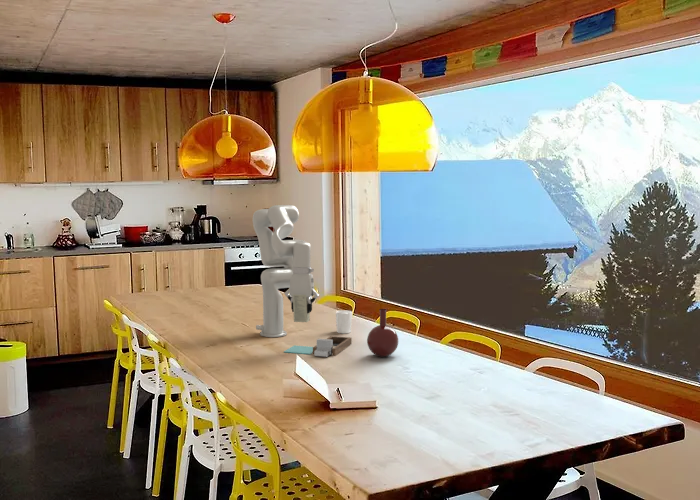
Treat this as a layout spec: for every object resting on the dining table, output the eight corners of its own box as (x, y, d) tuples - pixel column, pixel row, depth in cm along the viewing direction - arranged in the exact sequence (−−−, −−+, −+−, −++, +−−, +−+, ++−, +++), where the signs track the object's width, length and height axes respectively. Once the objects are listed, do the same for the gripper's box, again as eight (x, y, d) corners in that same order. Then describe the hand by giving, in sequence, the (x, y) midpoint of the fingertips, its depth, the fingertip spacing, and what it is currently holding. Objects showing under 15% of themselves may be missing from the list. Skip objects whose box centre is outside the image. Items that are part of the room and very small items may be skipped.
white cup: (350, 334, 359) (350, 313, 358) (334, 333, 360) (334, 313, 359) (353, 330, 366) (353, 310, 365) (337, 330, 368) (337, 310, 367)
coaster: (283, 352, 322) (283, 351, 322) (294, 346, 334) (294, 345, 334) (309, 354, 319) (309, 353, 319) (319, 348, 330) (319, 347, 330)
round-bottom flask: (404, 358, 314) (404, 310, 311) (376, 361, 308) (376, 313, 306) (388, 351, 325) (389, 305, 323) (361, 354, 319) (361, 308, 317)
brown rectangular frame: (312, 354, 319) (312, 347, 319) (330, 342, 341) (330, 336, 341) (335, 356, 316) (335, 349, 316) (351, 344, 338) (351, 337, 338)
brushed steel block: (313, 355, 315) (313, 341, 314) (318, 352, 321) (318, 338, 320) (328, 356, 313) (328, 342, 312) (332, 353, 319) (332, 339, 318)
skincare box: (310, 320, 326) (310, 293, 325) (306, 322, 322) (306, 294, 320) (296, 320, 328) (296, 292, 327) (292, 321, 323) (292, 293, 322)
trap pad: (328, 345, 335) (328, 345, 335) (332, 343, 340) (332, 342, 340) (344, 346, 333) (344, 346, 333) (347, 344, 337) (347, 344, 337)
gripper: (323, 270, 323) (323, 311, 326) (286, 268, 328) (286, 308, 331) (317, 273, 316) (317, 315, 318) (279, 270, 321) (279, 312, 323)
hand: (301, 311), depth 324 cm, fingers closed on skincare box, 6 cm apart
